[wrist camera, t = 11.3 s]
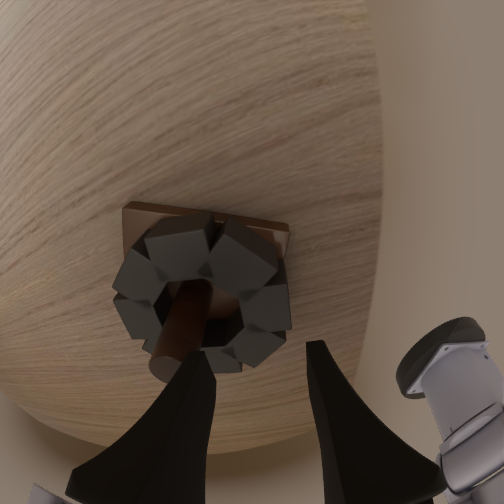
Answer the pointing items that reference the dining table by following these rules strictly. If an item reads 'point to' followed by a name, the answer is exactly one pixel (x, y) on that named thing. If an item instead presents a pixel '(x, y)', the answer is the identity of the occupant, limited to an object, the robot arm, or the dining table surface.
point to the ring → (218, 273)
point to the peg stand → (190, 285)
